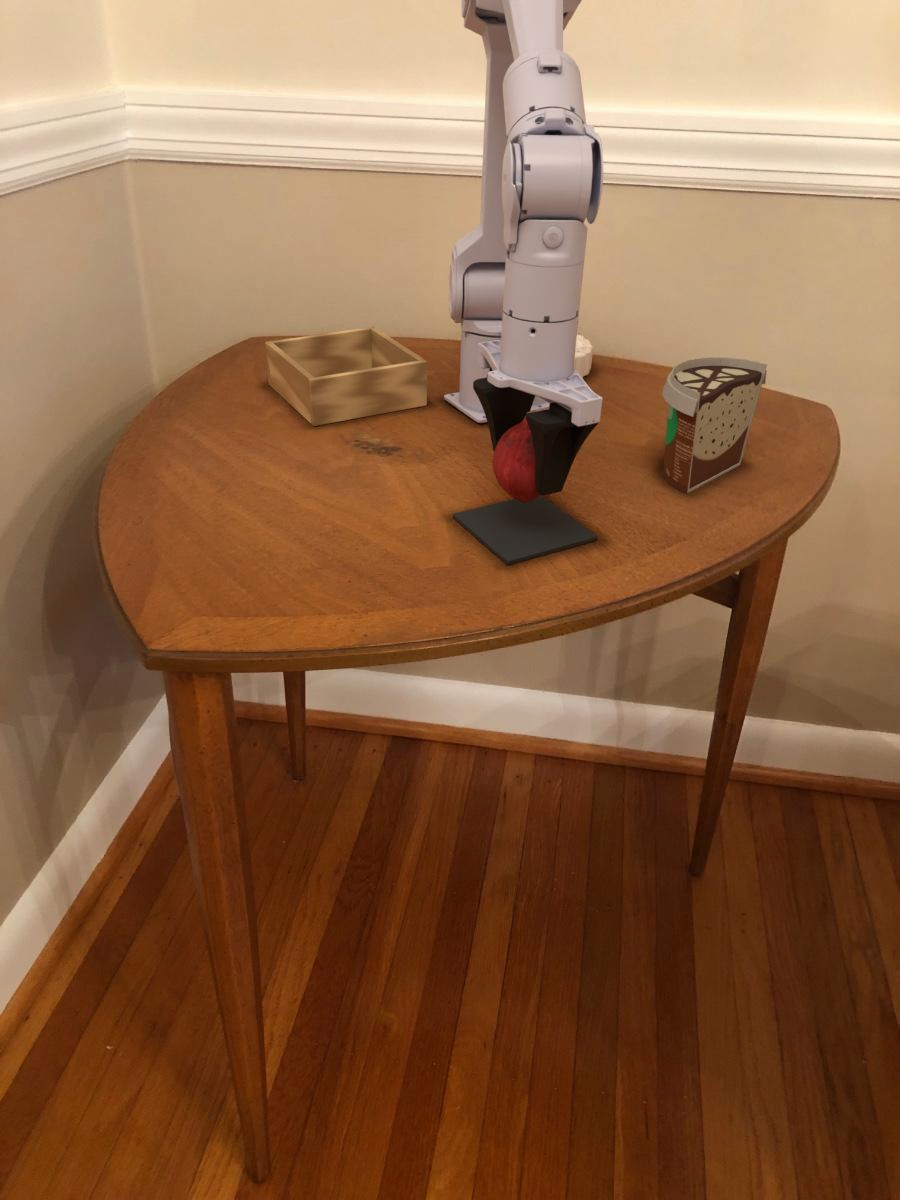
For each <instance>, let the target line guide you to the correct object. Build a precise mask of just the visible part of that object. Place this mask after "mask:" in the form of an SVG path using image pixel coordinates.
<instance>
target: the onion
mask: <svg viewBox="0 0 900 1200" xmlns="http://www.w3.org/2000/svg"><path fill="white" fill-rule="evenodd" d="M532 412H536V411H534V410H532V411H530V412H527V413H532ZM491 462H492V471H493V474H494V476H495V479H496V481H497V484H498V485H499V486H500V488H502V490H503V491H504V492H506V493H507V494H508V495H509V496H510V497H512V498H513V499H517V500H519V501H520V502H523V503H528V502H531V501H532V500H534V499H536V498H538V497H540V496H541V495H540V494H539V493H537V489H536V483H535V450H534V444H533V438H532V435H531V431H530V428H529V425H528V423H527V420H526V416H525V418H524V419H523V421H522V422H521V423H519V424H517V425H515V426H513V427H512V428H510V429H509V430H508V431H506V432H505V433H504V434H503V435H502V437H501V438H500V440H499V441H498V444H497V446H496V448H495V451H493V455H492V461H491Z"/></svg>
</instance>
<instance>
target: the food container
mask: <svg viewBox="0 0 900 1200" xmlns="http://www.w3.org/2000/svg"><path fill="white" fill-rule="evenodd" d="M767 366H768V364H767V363H764V362H760V361H756V360H751V359H744V358H736V357H735V358H734V357H724V356H723V357H722V356H709V357H697V358H692V359H691V358H690V359H687V360H684V361H681V362H680V363H677V364H675V366H673V368H672V370H671V371H670V373H669V374H668V376H667V378H666V381H665V383H664V386H663V388H662V393H661V395H662V398H663V401H665V402H666V404H668V405H667V417H666V428H665V429H666V430H665V431H666V432H665V444H664V457H663V467H662V468H663V469H662V475H663V477H664V479H665V480H666V482H667V483H668V484H669V485H671V486H672V487H673V488H674V489H677V490H678V491H681V492H683V493H684V494H689V493H692V492H693V491H695V490H697V489H698V488H700V487H703V486H704V485H706V484H708V483H710V482H711V481H713V480H716V479H717V478H720V477H721V476H723V475H725V474H727V473H728V472H730V471H732V470H734V469H736V468H738V467H739V466H741V464H742V461H743V457H744V453H745V450H746V446H747V442H748V438H749V434H750V430H751V428H752V423H753V419H754V415H755V412H756V408H757V404H758V401H759V396H760V393H761V389H762V386H763V385H766V381H767V374H768V373H767V372H768V370H767Z"/></svg>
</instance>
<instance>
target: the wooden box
mask: <svg viewBox="0 0 900 1200" xmlns="http://www.w3.org/2000/svg"><path fill="white" fill-rule="evenodd" d="M264 344H265V355H266V357H265V358H266V366H267V378H268V379H267V380H268V386H270V387H271V388H272V389H273V390H274V391H275V392H276V393H277V394H278V395H279V396H280V397H281V398H282V399H284V400H285V401H286V402H287V403H288V404H289V405H290V406H291V407H292V408H293V409H294V410H295V411H297V412H298V414H300V415H301V416H302V417H303V418H304V419H305V420H306V421H307V422H308V423H309V424H310V425H312V426H313V427H317V426H324V425H329V424H335V423H339V422H345V421H350V420H354V419H361V418H367V417H372V416H377V415H383V414H388V413H392V412H398V411H404V410H411V409H414V408H420V407H426V406H427V404H428V361H427V360H426V359H424V358H423V357H421V356H420V355H418V354H417V353H415V352H414V351H412V350H410V349H409V348H407V347H406V346H404V345H403V344H401V343H400V342H398V341H396V340H395V339H393V338H392V337H391V336H389V335H387V334H386V333H385V332H383V331H382V330H380V329H379V328H377V327H375V326H368V327H360V328H355V329H353V328H352V329H347V330H346V329H345V330H341V331H334V332H333V331H332V332H326V333H319V334H312V335H304V336H297V337H292V338H291V337H290V338H282V339H276V340H270V341H269V340H268V341H265V342H264Z"/></svg>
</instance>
